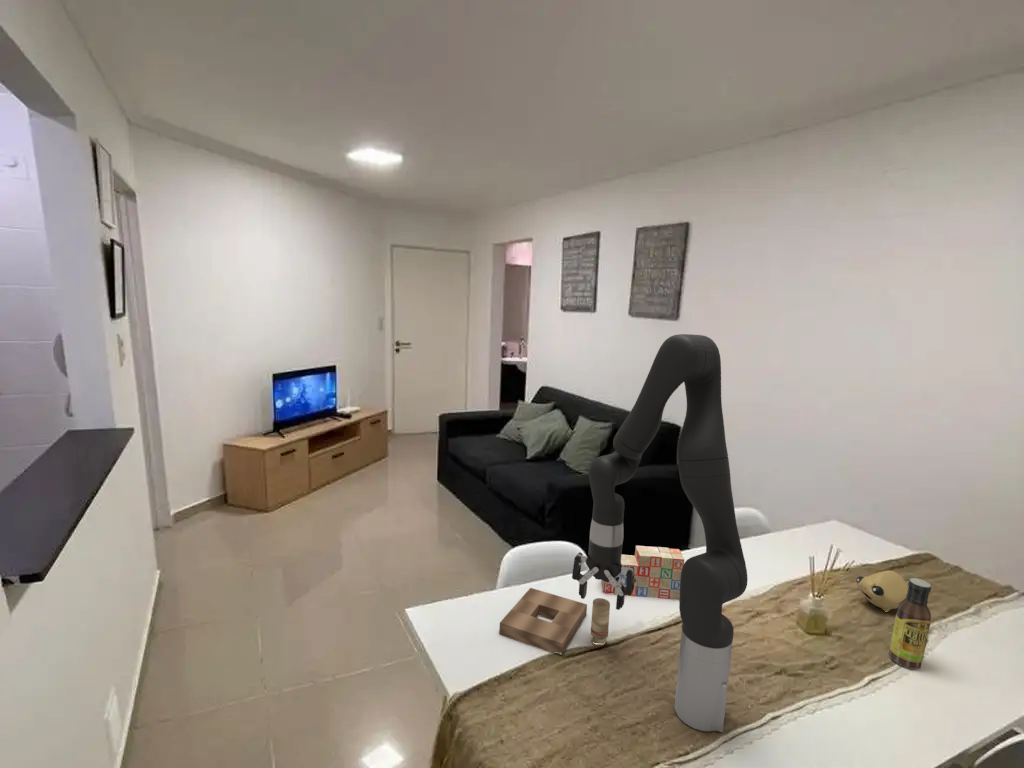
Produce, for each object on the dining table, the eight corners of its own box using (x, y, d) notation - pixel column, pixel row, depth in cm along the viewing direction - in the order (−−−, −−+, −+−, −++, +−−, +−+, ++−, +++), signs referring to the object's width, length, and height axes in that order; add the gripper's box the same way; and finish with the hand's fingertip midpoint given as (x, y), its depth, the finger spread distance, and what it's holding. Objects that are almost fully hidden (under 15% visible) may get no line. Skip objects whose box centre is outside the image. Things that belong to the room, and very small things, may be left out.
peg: (609, 639, 125) (612, 601, 123) (604, 649, 121) (607, 609, 119) (593, 634, 126) (595, 596, 125) (587, 643, 123) (590, 604, 121)
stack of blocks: (602, 594, 145) (605, 552, 143) (600, 582, 151) (603, 542, 149) (681, 600, 143) (685, 558, 141) (676, 588, 149) (679, 548, 147)
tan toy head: (846, 598, 147) (851, 563, 146) (883, 596, 149) (888, 561, 147) (875, 618, 138) (880, 581, 136) (914, 616, 139) (920, 579, 138)
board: (586, 615, 134) (587, 604, 134) (561, 655, 118) (562, 643, 118) (529, 598, 141) (530, 587, 141) (499, 634, 125) (499, 622, 125)
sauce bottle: (899, 669, 118) (912, 588, 115) (882, 651, 124) (894, 573, 121) (929, 672, 117) (943, 590, 114) (910, 654, 123) (923, 576, 120)
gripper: (571, 536, 120) (566, 601, 122) (632, 552, 113) (626, 620, 116) (582, 525, 126) (577, 586, 129) (640, 539, 120) (634, 603, 123)
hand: (600, 602), depth 123 cm, fingers open, 8 cm apart
